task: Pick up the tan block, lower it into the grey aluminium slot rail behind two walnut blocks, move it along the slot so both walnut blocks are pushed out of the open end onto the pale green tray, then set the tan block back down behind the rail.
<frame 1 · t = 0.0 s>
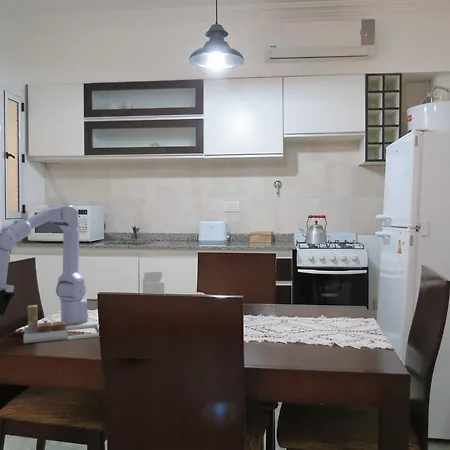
tray: (83, 334, 154), on the table
walnut block 1: (45, 336, 150), point 1 cm above the table, touching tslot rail
walnut block 2: (59, 335, 152), point 1 cm above the table, touching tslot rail
milk: (153, 339, 150), on the table
tan block: (33, 331, 158), on the table
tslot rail: (45, 338, 150), on the table
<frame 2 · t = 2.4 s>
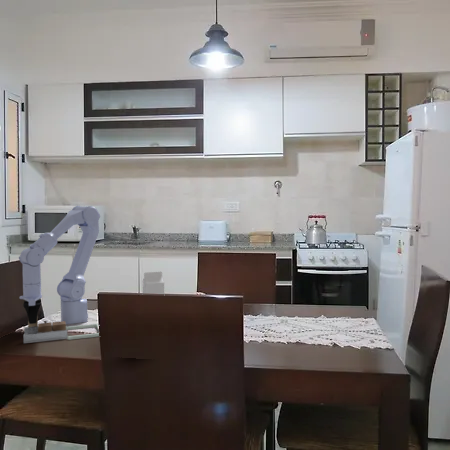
hand: (32, 322, 158), 3 cm above the table, tool pointing down, fingers closed on tan block, 3 cm apart
tan block: (33, 331, 158), on the table, touching gripper
everything else where it was.
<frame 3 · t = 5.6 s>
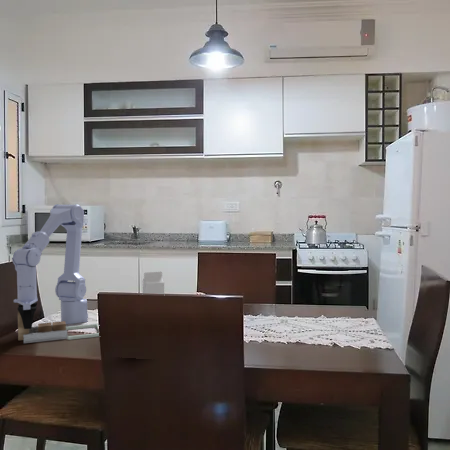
hand: (28, 327, 148), 4 cm above the table, tool pointing down, fingers closed on tan block, 3 cm apart
tan block: (23, 338, 148), point 1 cm above the table, touching gripper
everything else where it was.
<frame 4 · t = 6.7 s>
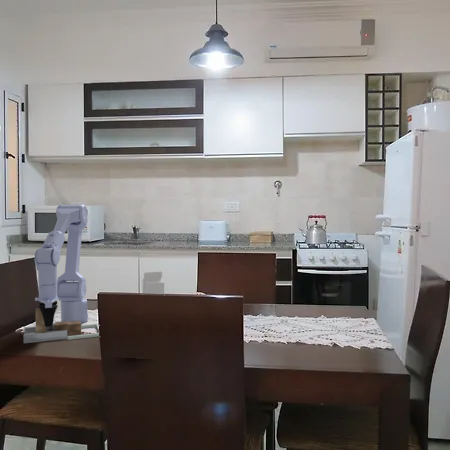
hand: (48, 325, 150), 4 cm above the table, tool pointing down, fingers closed on tan block, 3 cm apart
walnut block 1: (61, 334, 152), point 1 cm above the table, touching tan block, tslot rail
walnut block 2: (74, 334, 153), point 1 cm above the table, touching tray
tan block: (41, 336, 149), point 1 cm above the table, touching gripper, walnut block 1
everything else where it was.
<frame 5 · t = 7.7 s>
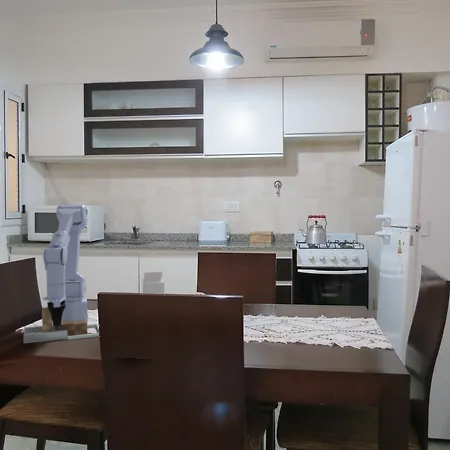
hand: (56, 324, 151), 4 cm above the table, tool pointing down, fingers closed on tan block, 3 cm apart
walnut block 1: (68, 334, 152), point 1 cm above the table, touching tan block, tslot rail, walnut block 2
walnut block 2: (80, 333, 154), resting on tray, touching walnut block 1
tan block: (47, 335, 150), point 1 cm above the table, touching gripper, walnut block 1
everything else where it was.
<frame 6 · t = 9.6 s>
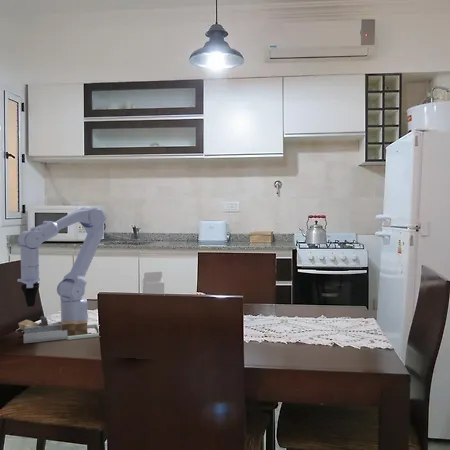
hand: (30, 305, 157), 9 cm above the table, tool pointing down, fingers open, 3 cm apart
walnut block 1: (68, 334, 152), point 1 cm above the table, touching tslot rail, walnut block 2
tan block: (36, 329, 155), point 2 cm above the table, tilted 90°
everything else where it was.
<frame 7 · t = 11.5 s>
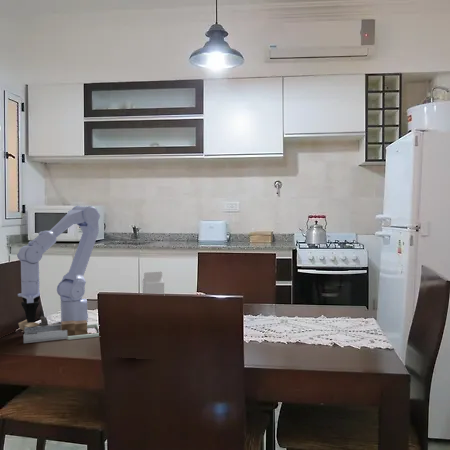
hand: (31, 319, 157), 4 cm above the table, tool pointing down, fingers open, 7 cm apart
nothing on the table moved.
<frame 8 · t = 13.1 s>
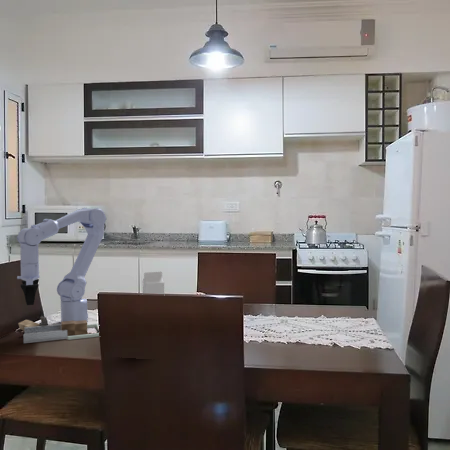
hand: (30, 302, 157), 10 cm above the table, tool pointing down, fingers open, 7 cm apart
nothing on the table moved.
at the end: walnut block 1 inside the target area (5.3 cm from its centre), point 0.8 cm above the table; walnut block 2 inside the target area (1.3 cm from its centre), point 0.5 cm above the table; the gripper is holding nothing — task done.
